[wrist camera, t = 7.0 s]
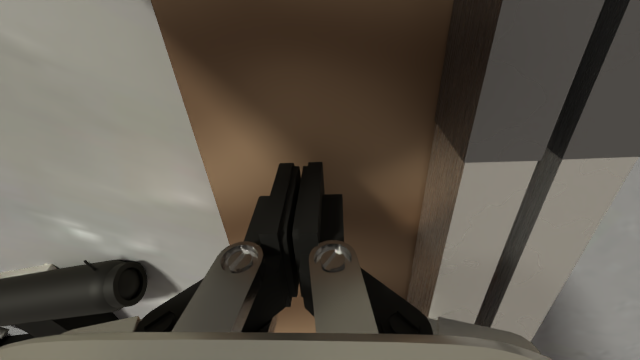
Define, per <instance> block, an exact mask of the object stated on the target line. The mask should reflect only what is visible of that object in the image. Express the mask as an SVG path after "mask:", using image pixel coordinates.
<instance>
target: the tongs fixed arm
mask: <svg viewBox="0 0 640 360" xmlns="http://www.w3.org/2000/svg"><path fill="white" fill-rule="evenodd" d="M638 157H640V0H605V1H604V4H603V7H602V9H601V12H600V14H599V17H598V19H597V22H596V24H595V27H594V29H593V32H592V34H591V37H590V39H589V42H588V44H587V47H586V49H585V52H584V54H583V57H582V59H581V62H580V64H579V67H578V69H577V72H576V74H575V77H574V79H573V82H572V84H571V87H570V89H569V92H568V95H567V97H566V100H565V102H564V105H563V107H562V110H561V112H560V115H559V117H558V120H557V122H556V125H555V127H554V130H553V132H552V135H551V137H550V140H549V142H548V145H547V147H546V150H545V152H544V155H543V157H542V160H541V161H538V162H537V165H536V167H535V170H534V172H533V175H532V177H531V180H530V182H529V185H528V188H527V190H526V193H525V195H524V198H523V200H522V203H521V205H520V208H519V211H518V213H517V216H516V218H515V221H514V223H513V226H512V228H511V231H510V234H509V236H508V239H507V241H506V244H505V246H504V249H503V251H502V254H501V257H500V259H499V262H498V264H497V267H496V269H495V272H494V274H493V277H492V280H491V282H490V285H489V287H488V290H487V292H486V295H485V298H484V300H483V303H482V305H481V308H480V310H479V313H478V315H477V318H476V321H475V323H474V324H476V325H480V326H485V327H490V328H494V329H499V330H504V331H508V332H512V333H515V334H518V335H520V336H522V337H524V338H525V339H527V340H528V341H530V342H531V340H532V339H533V337H534V335H535V333H536V332H537V330H538V328H539V327H540V325H541V323H542V321H543V320H544V318H545V316H546V315H547V313H548V311H549V309H550V308H551V306H552V304H553V303H554V301H555V299H556V297H557V296H558V294H559V292H560V291H561V289H562V287H563V286H564V284H565V282H566V280H567V279H568V277H569V275H570V274H571V272H572V270H573V268H574V267H575V265H576V263H577V262H578V260H579V258H580V256H581V255H582V253H583V251H584V250H585V248H586V246H587V244H588V243H589V241H590V239H591V238H592V236H593V234H594V232H595V231H596V229H597V227H598V226H599V224H600V222H601V220H602V219H603V217H604V215H605V214H606V212H607V210H608V208H609V207H610V205H611V203H612V202H613V200H614V198H615V196H616V195H617V193H618V191H619V190H620V188H621V186H622V184H623V183H624V181H625V179H626V178H627V176H628V174H629V172H630V171H631V169H632V167H633V166H634V164H635V162H636V161H637V159H638Z"/></svg>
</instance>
